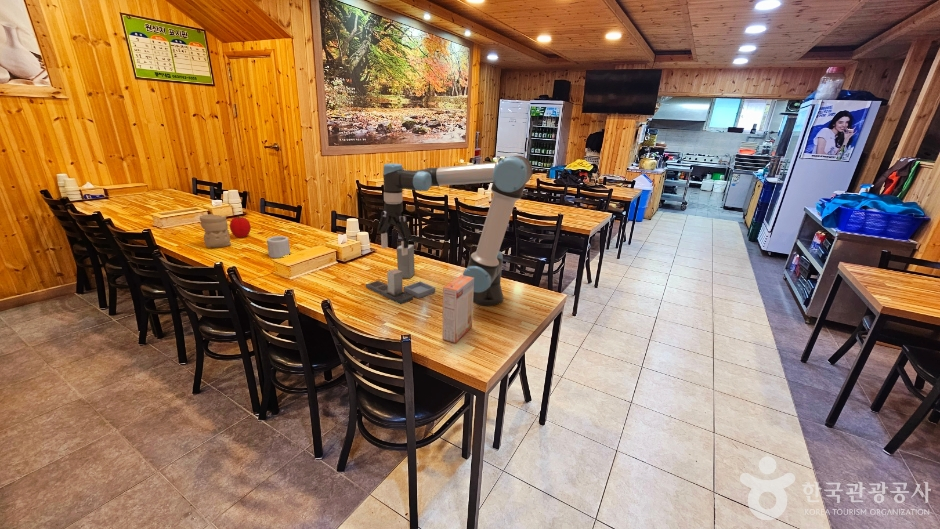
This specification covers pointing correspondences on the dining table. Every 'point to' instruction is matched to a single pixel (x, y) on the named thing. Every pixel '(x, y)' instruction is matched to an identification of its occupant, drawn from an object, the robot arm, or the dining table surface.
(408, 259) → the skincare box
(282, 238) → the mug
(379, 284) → the rail
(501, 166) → the robot arm
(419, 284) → the parts tray
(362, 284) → the dining table surface
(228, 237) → the container
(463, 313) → the cracker box
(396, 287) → the block
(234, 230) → the red apple
